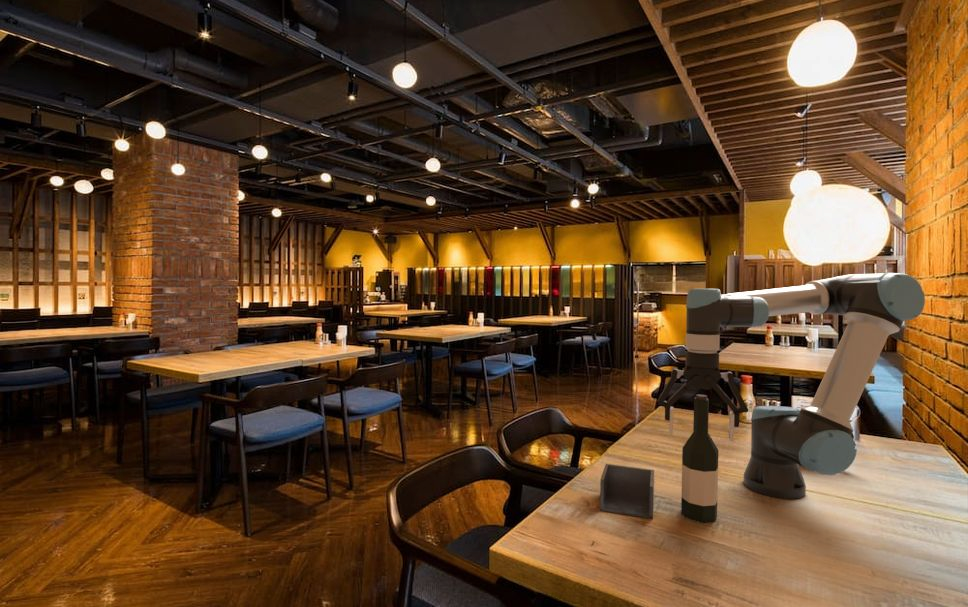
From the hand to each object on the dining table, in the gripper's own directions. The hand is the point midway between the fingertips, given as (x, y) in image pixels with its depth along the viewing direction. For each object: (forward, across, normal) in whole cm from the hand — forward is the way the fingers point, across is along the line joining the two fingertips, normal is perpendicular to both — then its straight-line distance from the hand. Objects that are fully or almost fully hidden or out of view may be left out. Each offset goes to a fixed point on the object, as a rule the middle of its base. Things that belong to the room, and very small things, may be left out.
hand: (700, 436), depth 119 cm
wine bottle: (+20, 0, 0) cm, 20 cm away
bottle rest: (+20, +17, +1) cm, 26 cm away
